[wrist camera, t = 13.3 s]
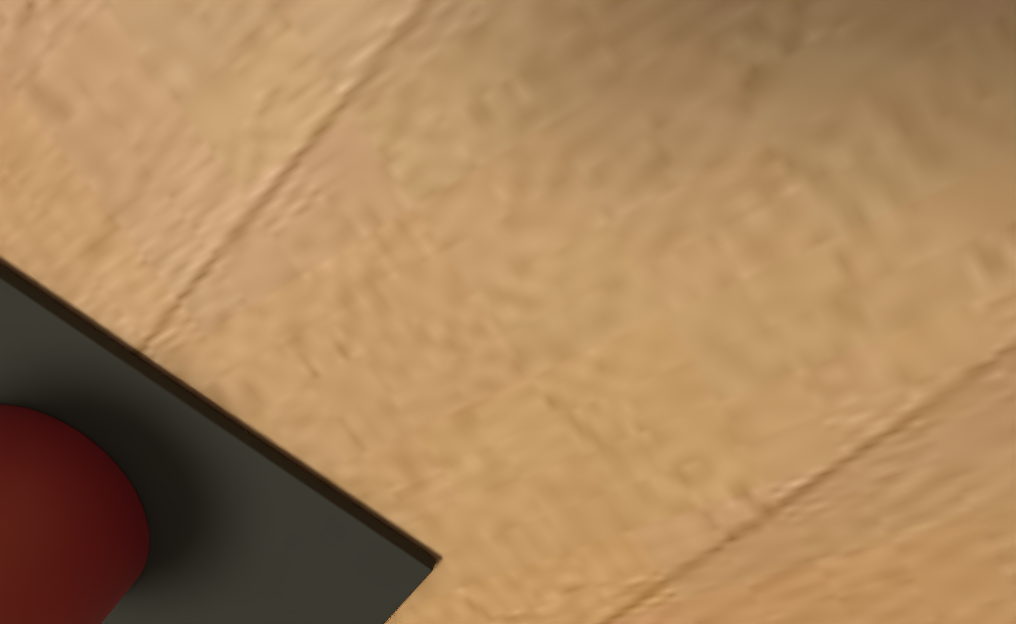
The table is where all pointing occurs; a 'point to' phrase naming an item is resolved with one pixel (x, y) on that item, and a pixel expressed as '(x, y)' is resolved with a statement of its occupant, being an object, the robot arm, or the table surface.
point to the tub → (63, 524)
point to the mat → (203, 489)
